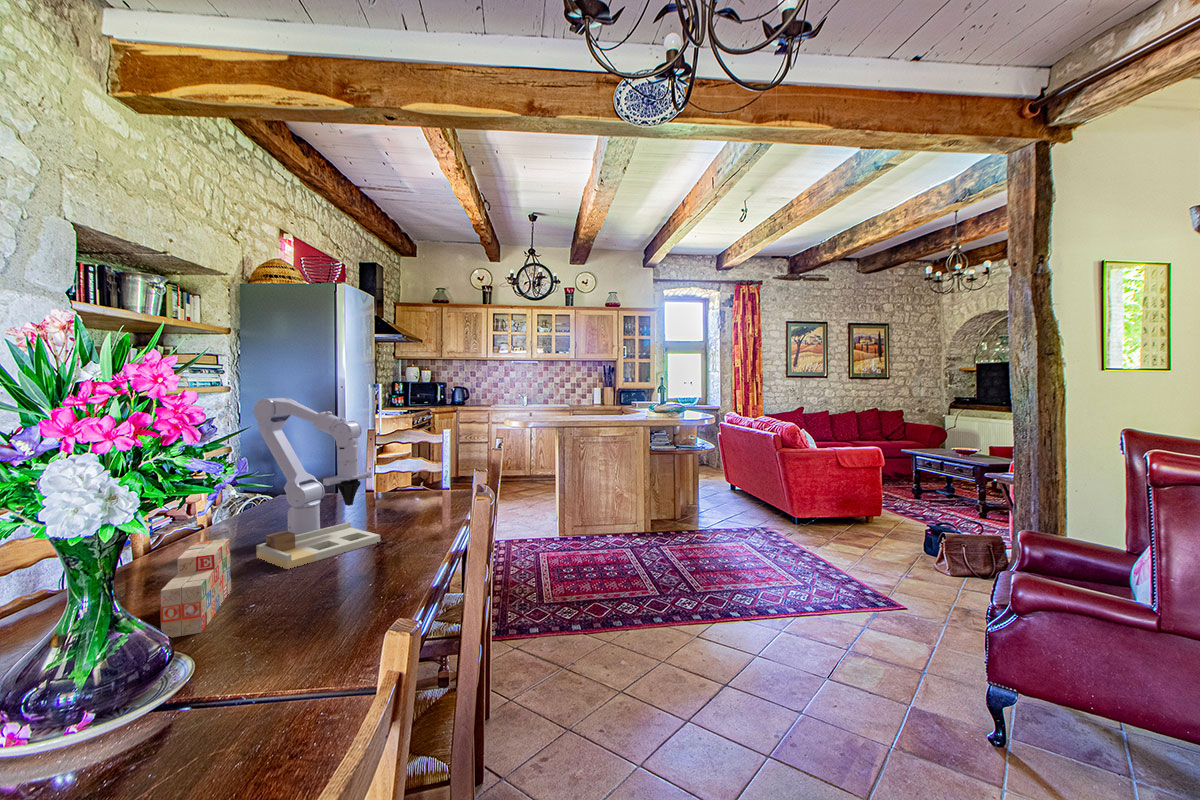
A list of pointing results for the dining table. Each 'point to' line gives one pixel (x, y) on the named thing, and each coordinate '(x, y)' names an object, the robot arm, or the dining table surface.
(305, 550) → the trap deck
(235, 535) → the dining table surface
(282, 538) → the walnut block
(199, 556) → the stack of blocks
